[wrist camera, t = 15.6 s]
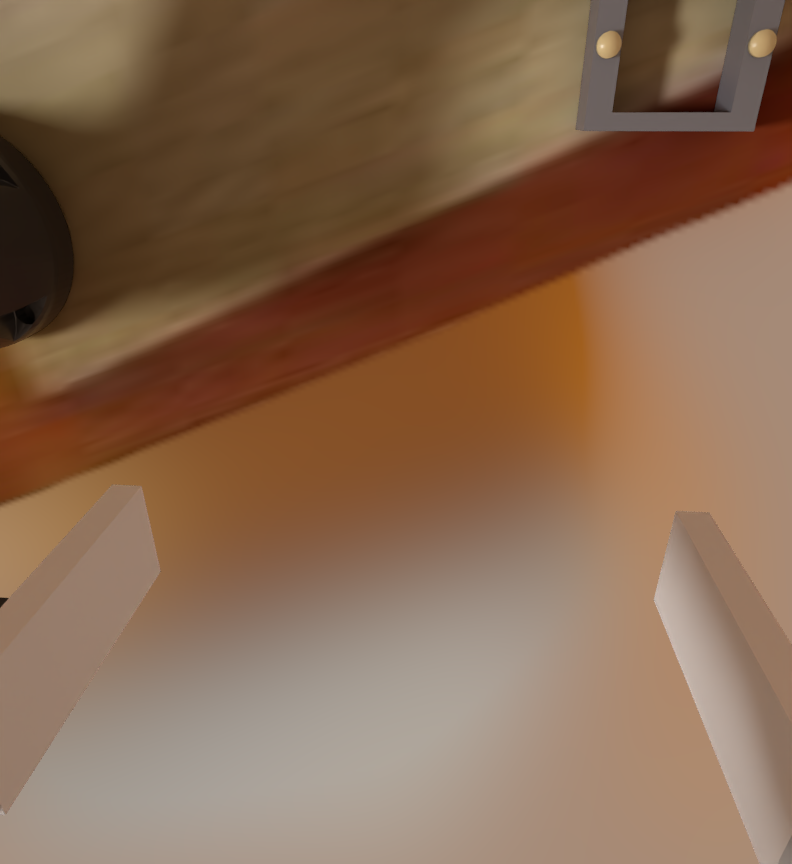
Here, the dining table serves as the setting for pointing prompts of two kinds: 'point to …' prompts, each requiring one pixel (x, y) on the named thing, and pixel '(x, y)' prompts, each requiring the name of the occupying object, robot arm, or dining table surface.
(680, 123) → the block
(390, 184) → the dining table surface
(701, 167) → the dining table surface
